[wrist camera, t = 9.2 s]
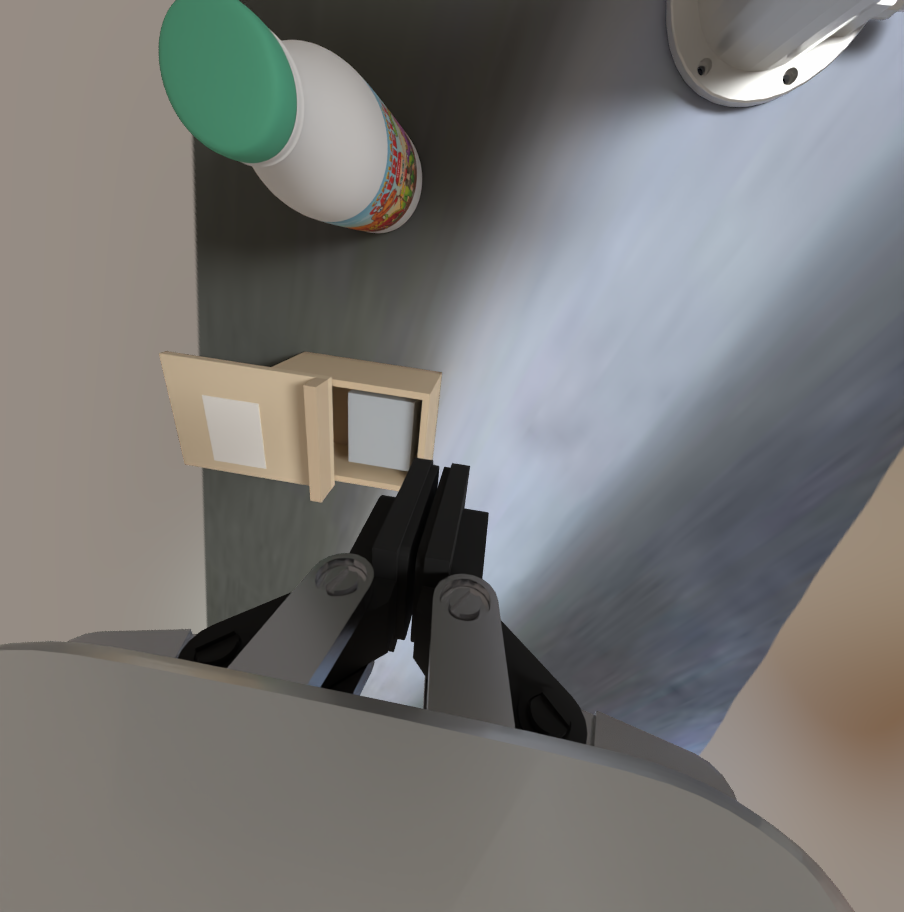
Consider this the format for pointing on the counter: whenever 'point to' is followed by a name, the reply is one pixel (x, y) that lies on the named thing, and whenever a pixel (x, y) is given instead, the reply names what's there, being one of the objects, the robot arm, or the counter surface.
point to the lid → (253, 419)
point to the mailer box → (376, 416)
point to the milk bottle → (289, 116)
